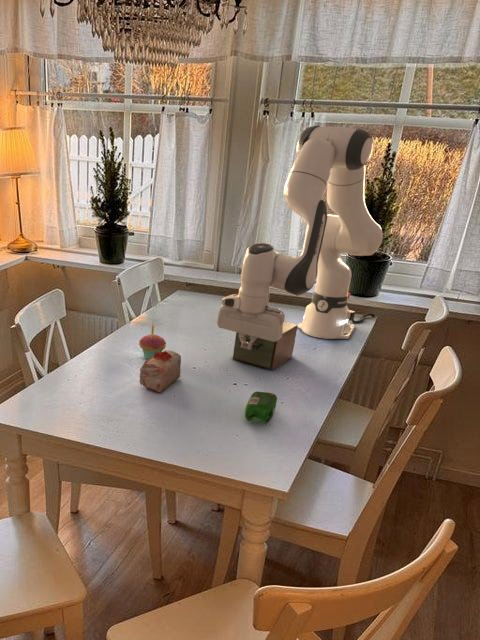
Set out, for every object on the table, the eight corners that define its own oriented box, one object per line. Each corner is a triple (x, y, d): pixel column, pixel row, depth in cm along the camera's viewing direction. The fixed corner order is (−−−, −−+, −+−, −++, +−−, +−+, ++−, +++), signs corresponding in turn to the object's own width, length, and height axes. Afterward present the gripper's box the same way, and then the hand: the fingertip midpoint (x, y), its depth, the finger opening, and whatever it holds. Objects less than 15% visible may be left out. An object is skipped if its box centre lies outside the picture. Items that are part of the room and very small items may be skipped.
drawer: (263, 371, 199) (267, 343, 194) (226, 361, 205) (230, 333, 200) (287, 355, 211) (292, 329, 206) (252, 346, 217) (256, 320, 212)
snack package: (240, 426, 169) (243, 408, 166) (251, 402, 181) (254, 385, 178) (268, 432, 167) (271, 413, 164) (276, 407, 179) (280, 390, 176)
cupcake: (162, 363, 203) (165, 326, 197) (135, 360, 205) (137, 323, 198) (166, 354, 211) (169, 317, 204) (140, 351, 212) (142, 314, 206)
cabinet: (271, 370, 202) (277, 336, 197) (232, 358, 209) (237, 326, 204) (291, 357, 213) (297, 324, 207) (253, 346, 219) (258, 315, 214)
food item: (161, 395, 183) (164, 362, 178) (136, 389, 186) (138, 356, 181) (182, 379, 193) (185, 347, 188) (158, 373, 196) (160, 342, 191)
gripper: (290, 308, 188) (282, 353, 195) (227, 293, 198) (222, 337, 205) (280, 313, 183) (273, 359, 191) (217, 298, 193) (212, 343, 201)
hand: (246, 348), depth 198 cm, fingers closed
